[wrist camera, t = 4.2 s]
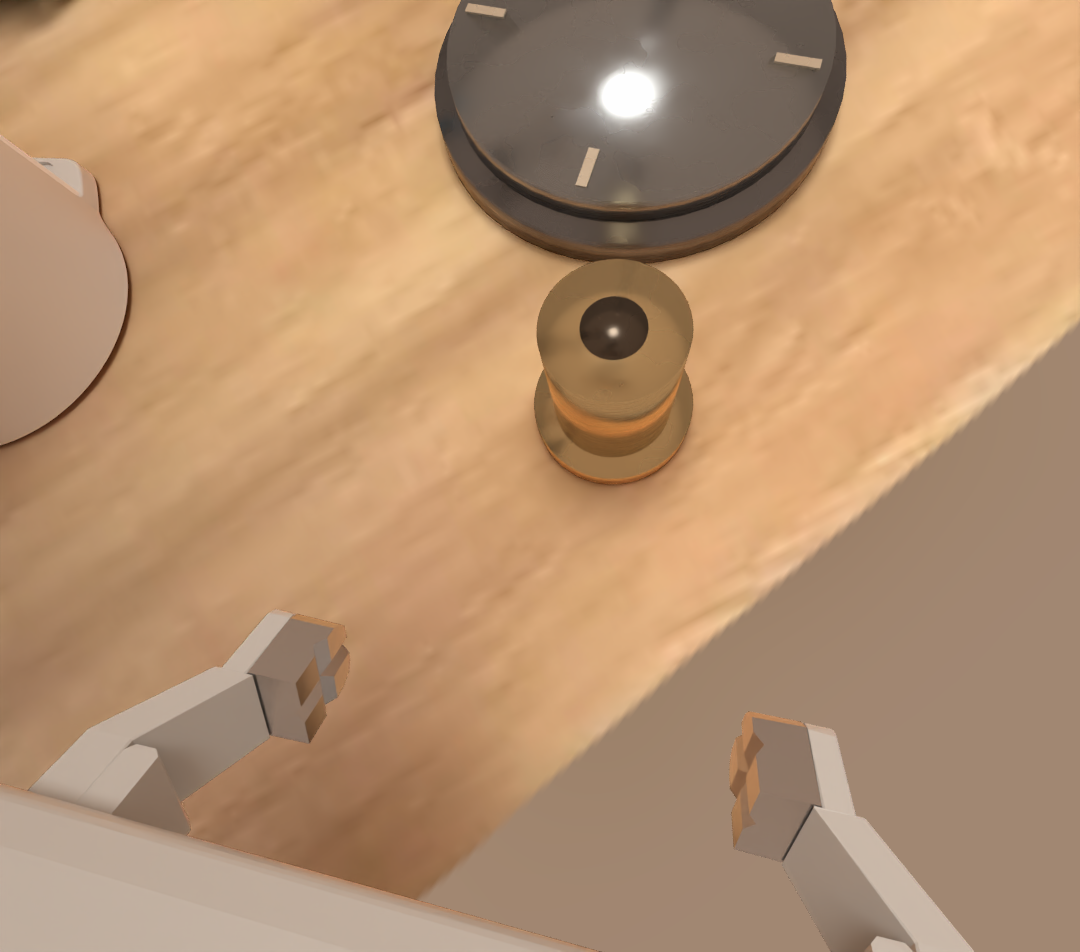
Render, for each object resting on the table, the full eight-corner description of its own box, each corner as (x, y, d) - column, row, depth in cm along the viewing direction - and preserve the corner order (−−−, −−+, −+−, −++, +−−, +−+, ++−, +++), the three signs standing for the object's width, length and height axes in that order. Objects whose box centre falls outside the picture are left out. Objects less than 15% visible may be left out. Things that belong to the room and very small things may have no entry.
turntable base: (387, 215, 31) (376, 193, 29) (512, -76, 35) (508, -108, 33) (782, 305, 27) (793, 286, 26) (870, -28, 31) (884, -62, 30)
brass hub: (516, 457, 27) (479, 393, 19) (565, 324, 28) (549, 213, 20) (663, 504, 26) (686, 456, 18) (708, 363, 27) (748, 261, 19)
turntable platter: (401, 179, 29) (391, 156, 28) (519, -95, 33) (515, -128, 31) (776, 260, 26) (786, 239, 25) (860, -51, 30) (873, -86, 28)
